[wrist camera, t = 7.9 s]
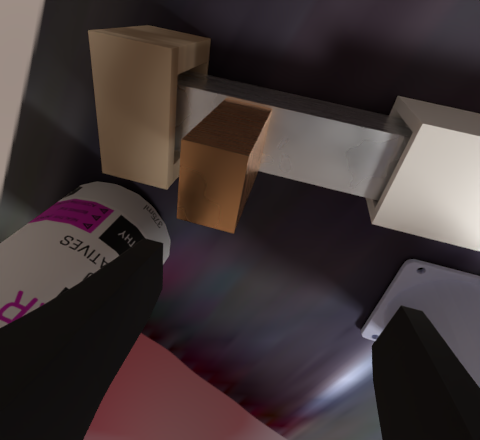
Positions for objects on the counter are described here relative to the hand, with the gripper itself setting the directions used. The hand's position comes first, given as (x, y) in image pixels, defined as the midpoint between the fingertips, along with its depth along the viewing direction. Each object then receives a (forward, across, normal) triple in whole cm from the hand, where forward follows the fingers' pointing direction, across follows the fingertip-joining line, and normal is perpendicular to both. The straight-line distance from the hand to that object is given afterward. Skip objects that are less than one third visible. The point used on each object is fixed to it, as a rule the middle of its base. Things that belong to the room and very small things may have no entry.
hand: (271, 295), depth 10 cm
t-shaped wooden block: (+10, 0, -2) cm, 11 cm away
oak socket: (+10, +7, -2) cm, 13 cm away
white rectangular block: (+10, -8, -2) cm, 13 cm away
